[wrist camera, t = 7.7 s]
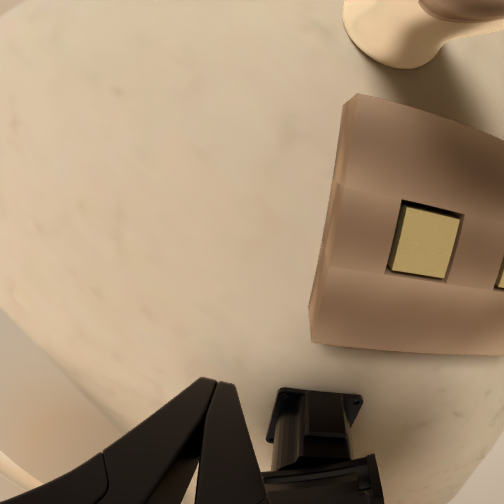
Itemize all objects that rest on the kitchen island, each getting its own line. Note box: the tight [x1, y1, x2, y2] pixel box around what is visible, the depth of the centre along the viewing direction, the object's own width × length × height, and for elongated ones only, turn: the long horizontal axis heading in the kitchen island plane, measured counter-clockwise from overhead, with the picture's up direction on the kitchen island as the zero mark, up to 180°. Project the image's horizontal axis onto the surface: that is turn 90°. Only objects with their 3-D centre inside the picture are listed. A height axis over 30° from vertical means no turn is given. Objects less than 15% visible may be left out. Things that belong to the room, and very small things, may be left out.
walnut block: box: [309, 93, 504, 355], centre depth 15 cm, size 12×16×4 cm
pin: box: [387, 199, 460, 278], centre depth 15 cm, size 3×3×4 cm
